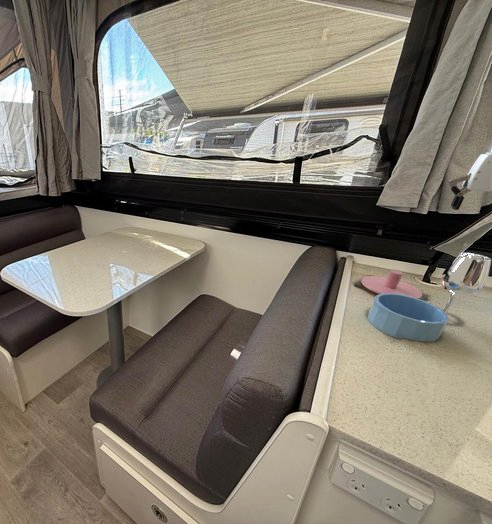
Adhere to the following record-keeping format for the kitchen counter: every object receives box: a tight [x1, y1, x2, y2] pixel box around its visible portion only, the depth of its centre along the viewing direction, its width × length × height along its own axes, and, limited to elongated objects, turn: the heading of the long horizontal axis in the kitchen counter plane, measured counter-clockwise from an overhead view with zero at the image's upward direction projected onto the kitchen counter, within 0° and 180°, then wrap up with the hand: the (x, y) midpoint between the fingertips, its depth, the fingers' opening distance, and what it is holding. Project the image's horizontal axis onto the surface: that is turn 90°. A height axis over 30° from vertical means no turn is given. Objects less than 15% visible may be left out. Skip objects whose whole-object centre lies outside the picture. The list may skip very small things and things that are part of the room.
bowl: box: [367, 293, 450, 343], centre depth 74 cm, size 15×15×6 cm
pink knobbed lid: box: [360, 269, 423, 299], centre depth 91 cm, size 16×16×7 cm
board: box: [353, 280, 428, 301], centre depth 92 cm, size 16×12×1 cm
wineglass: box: [439, 252, 492, 314], centre depth 74 cm, size 8×8×20 cm
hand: (477, 210), depth 80 cm, fingers open, 9 cm apart
